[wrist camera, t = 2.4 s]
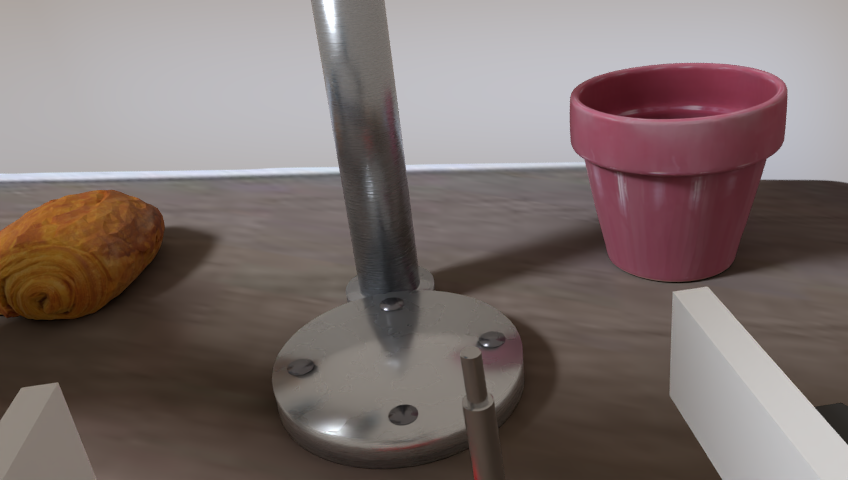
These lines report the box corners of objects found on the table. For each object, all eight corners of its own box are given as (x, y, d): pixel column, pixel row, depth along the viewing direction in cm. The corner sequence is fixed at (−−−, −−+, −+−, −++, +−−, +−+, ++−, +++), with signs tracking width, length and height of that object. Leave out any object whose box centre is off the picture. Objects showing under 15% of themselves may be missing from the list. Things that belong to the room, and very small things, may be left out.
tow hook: (285, 654, 32) (501, 709, 28) (200, 402, 26) (454, 432, 23) (368, 505, 39) (549, 535, 35) (313, 282, 33) (521, 292, 30)
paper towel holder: (267, 487, 40) (112, -97, 27) (292, 291, 58) (206, -110, 46) (551, 445, 40) (524, -147, 28) (486, 264, 59) (452, -140, 47)
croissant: (199, 259, 71) (186, 174, 68) (107, 332, 56) (85, 228, 54) (58, 258, 73) (40, 177, 71) (-65, 328, 59) (-93, 229, 56)
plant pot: (577, 213, 65) (574, 64, 60) (754, 212, 62) (768, 54, 56) (568, 301, 53) (563, 124, 47) (789, 305, 49) (811, 115, 44)
